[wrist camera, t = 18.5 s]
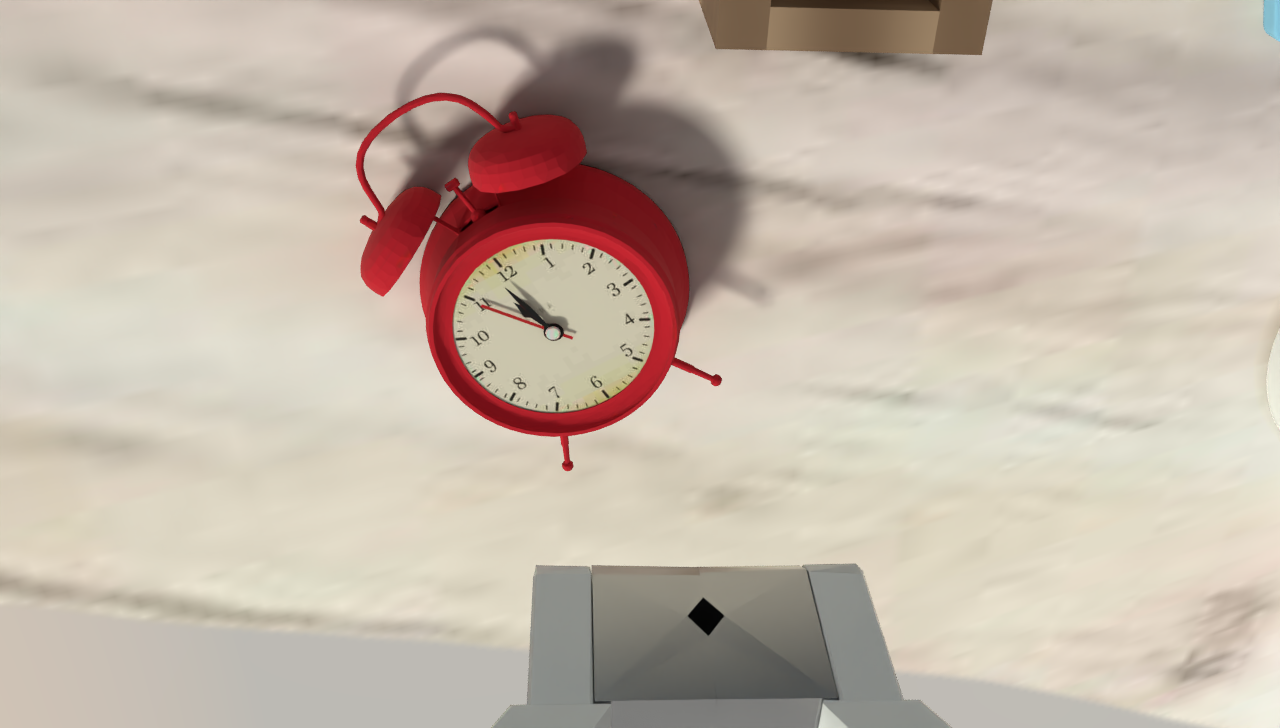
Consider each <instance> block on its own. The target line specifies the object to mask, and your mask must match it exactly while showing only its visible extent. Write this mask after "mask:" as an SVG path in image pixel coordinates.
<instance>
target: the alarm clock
mask: <svg viewBox="0 0 1280 728" xmlns="http://www.w3.org/2000/svg"><path fill="white" fill-rule="evenodd" d="M445 100H446V101H452V102H458V103H460V104H462V105H465V106H467V107H469V108H470V109H472V110H473V111H475V112H476V113H478V114H479V115H481V116H482V117H483V118H484V119H486V120H487V121H488V122H489V123H491V124H492V125H493V126H494V127H495V129H493V130H492V131H490V132H488V133H487V134H485V135H484V136H483V137H482V138H481V139H479V140H478V141H477V143H476V144H475V145H474V147H473V148H472V149H471V152H470V155H469V160H468V168H469V174H470V178H471V181H472V184H473V185H472V186H471V187H470V188H468V189H467V190H466V191H464V192H462V191H461V190H460V189H459V188H458V186H459V185H460V183H459V181H458V179H456V178H454V179H452V180H451V181H450V182H448V183H447V184H445V188H446V189H447V191H449V192H450V191H452V190H454V192H455V193H456V194H457V195H458V196H459V197H457V198H456V199H455V200H454V201H453V202H452V203H451V204H450V205H449V206H448V207H447V209H446V210H445V211H444V213H443V214H442V215H441V217H440V218H438V217H436V216H435V215H436V212H437V210H438V207H439V205H440V200H441V195H439V194H437V193H436V192H434V191H433V190H430V189H428V188H425V187H412V188H409V189H407V190H405V191H404V192H402V193H401V194H400V195H399V196H398V197H397V198H396V199H395V200H394V201H393V202H392V203H391V204H390V205H389V206H388V208H387V209H386V211H385V210H384V208H383V206H382V205H381V203H380V201H379V200H378V198H377V197H376V195H375V194H374V192H373V191H372V189H371V187H370V185H369V183H368V181H367V179H366V177H365V172H364V168H363V164H364V157H365V153H366V151H367V149H368V148H369V146H370V144H371V142H372V141H373V140H374V139H375V138H376V136H377V135H378V134H379V133H380V132H381V131H382V130H383V129H384V128H385V127H387V126H388V125H389V124H390V123H391V122H393V121H394V120H395V119H396V118H398V117H399V116H401V115H403V114H404V113H406V112H408V111H410V110H411V109H413V108H415V107H418V106H420V105H423V104H426V103H429V102H433V101H445ZM509 118H510V122H509V123H506V124H504V125H502V124H500V123H499V122H498V121H497V120H496V119H495V118H494V117H493V116H492V115H491V114H490V113H489V112H488V111H486V110H485V109H484V108H482V107H481V106H480V105H478V104H477V103H475V102H473V101H472V100H470V99H468V98H466V97H463V96H461V95H457V94H450V93H435V94H430V95H426V96H422V97H420V98H417V99H415V100H413V101H410V102H408V103H406V104H405V105H403V106H402V107H400V108H398V109H397V110H395V111H393V112H392V113H390V114H389V115H387V116H386V117H385V118H384V119H383V120H382V121H381V122H380V123H379V124H378V125H376V126H375V127H374V128H373V129H372V130H371V131H370V133H369V134H368V135H367V137H366V138H365V139H364V141H363V142H362V144H361V146H360V148H359V151H358V153H357V160H356V170H357V175H358V179H359V181H360V183H361V185H362V187H363V189H364V191H365V193H366V194H367V196H368V197H369V199H370V200H371V202H372V203H373V205H374V206H375V208H376V209H377V211H378V213H379V216H378V221H377V222H375V221H373V220H372V219H370V218H368V217H367V216H365V215H364V216H362V218H361V219H360V223H362V224H364V225H365V226H367V227H368V228H370V229H372V230H373V231H372V233H371V235H370V237H369V239H368V242H367V244H366V247H365V250H364V252H363V255H362V259H361V277H362V279H363V280H364V282H365V284H366V285H367V286H368V287H369V288H370V289H371V290H372V291H374V292H375V293H377V294H379V295H381V296H382V297H383V296H384V295H385V294H386V293H387V292H389V290H390V289H391V288H392V286H393V285H394V284H395V283H396V281H397V280H398V279H399V277H400V276H401V274H402V273H403V271H404V270H405V268H406V267H407V265H408V264H409V262H410V261H411V259H412V258H413V256H414V254H415V252H416V251H417V249H418V247H419V246H420V244H421V242H422V241H423V239H424V237H425V235H426V233H427V231H428V229H429V227H430V225H431V223H432V221H433V220H434V221H436V222H437V223H436V225H435V227H434V229H433V230H432V232H431V235H430V237H429V239H428V242H427V245H426V248H425V251H424V255H423V259H422V264H421V270H420V296H421V302H422V307H423V311H424V314H425V317H426V332H427V338H428V343H429V346H430V350H431V353H432V356H433V359H434V361H435V363H436V366H437V368H438V370H439V372H440V374H441V375H442V377H443V379H444V381H445V382H446V383H447V385H448V386H449V387H450V389H451V390H452V391H453V393H454V394H455V395H456V396H457V397H458V398H459V399H460V400H461V401H462V402H463V403H464V404H465V405H467V406H468V407H469V408H471V409H472V410H473V411H474V412H476V413H477V414H479V415H480V416H482V417H484V418H485V419H487V420H489V421H491V422H493V423H495V424H497V425H499V426H502V427H505V428H507V429H510V430H514V431H517V432H521V433H525V434H531V435H538V436H551V437H557V436H560V438H561V445H562V447H563V453H564V459H565V461H564V462H563V463H562V467H563V469H564V470H565V471H570V470H572V468H573V462H572V461H570V457H569V446H568V444H569V441H568V436H572V435H578V434H584V433H588V432H592V431H596V430H599V429H602V428H604V427H607V426H609V425H612V424H614V423H616V422H618V421H620V420H622V419H623V418H625V417H627V416H628V415H630V414H631V413H633V412H634V411H635V410H637V409H638V408H639V407H641V406H642V405H643V404H644V403H645V402H646V401H647V400H648V399H649V398H650V397H651V396H652V395H653V393H654V392H655V391H656V390H657V389H658V387H659V386H660V384H661V383H662V381H663V380H664V378H665V376H666V374H667V372H668V370H669V368H670V366H671V365H673V366H675V367H678V368H680V369H682V370H685V371H687V372H689V373H693V374H695V375H698V376H700V377H703V378H705V379H707V380H710V381H711V384H712V385H714V386H719V385H720V384H721V381H722V378H721V377H720V376H719V375H717V374H715V375H714V376H712V375H709V374H707V373H705V372H703V371H701V370H699V369H697V368H695V367H694V366H692V365H690V364H688V363H686V362H684V361H681V360H679V359H677V358H675V354H676V350H677V346H678V342H679V334H680V329H681V326H682V324H683V321H684V318H685V315H686V310H687V306H688V299H689V274H688V267H687V262H686V258H685V254H684V250H683V247H682V245H681V242H680V240H679V238H678V235H677V233H676V231H675V229H674V228H673V226H672V224H671V223H670V221H669V220H668V218H667V217H666V216H665V214H664V213H663V212H662V211H661V209H660V208H659V207H658V206H657V205H656V204H655V203H654V202H653V201H652V200H651V199H650V198H649V197H648V196H646V195H645V194H644V193H642V192H641V191H640V190H639V189H637V188H636V187H635V186H633V185H631V184H630V183H628V182H626V181H625V180H623V179H621V178H619V177H617V176H615V175H613V174H610V173H608V172H605V171H603V170H599V169H596V168H593V167H589V166H584V165H580V163H581V161H582V160H583V158H584V156H585V155H586V153H587V150H586V145H585V141H584V138H583V135H582V133H581V131H580V129H579V128H578V127H577V126H576V125H575V124H574V123H573V122H572V121H571V120H569V119H567V118H565V117H562V116H556V115H535V116H530V117H525V118H521V119H519V118H518V115H517V112H515V111H514V112H511V113H509Z"/></svg>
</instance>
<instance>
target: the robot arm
mask: <svg viewBox="0 0 1280 728" xmlns="http://www.w3.org/2000/svg"><path fill="white" fill-rule="evenodd" d="M1266 388H1267V398H1268V403H1269V407H1270V411H1271V414H1272V417H1273V419H1274V421H1275V423H1276V425H1277V427H1278V429H1279V430H1280V328H1279V330H1278V333H1277V335H1276V338H1275V341H1274V343H1273V346H1272V350H1271V354H1270V357H1269V363H1268V368H1267V385H1266ZM491 728H952V727H951V726H950V725H949V724H948V723H946V722H945V721H944V720H943V719H942V718H940V717H939V716H938V715H937V714H936V713H935V712H934V711H932V710H931V709H930V708H929V707H928V706H927V705H925V704H924V703H923V702H922V701H921V700H904V699H903V696H902V693H901V689H900V686H899V683H898V680H897V677H896V674H895V671H894V667H893V664H892V661H891V658H890V655H889V652H888V649H887V645H886V642H885V639H884V636H883V633H882V630H881V627H880V623H879V620H878V617H877V614H876V611H875V608H874V605H873V602H872V598H871V595H870V592H869V589H868V586H867V583H866V580H865V576H864V573H863V571H862V570H861V569H860V568H859V567H858V565H857V564H817V565H803V566H802V567H801V566H799V565H797V566H725V567H657V566H601V565H592V571H590V567H587V566H542V565H536V569H535V573H534V577H533V592H532V612H531V632H530V652H529V673H528V692H527V705H510V706H509V707H508V708H507V710H506V711H505V712H504V713H503V714H502V715H501V717H500V718H499V719H498V720H497V721H496V722H495V724H494V725H493V726H492V727H491Z"/></svg>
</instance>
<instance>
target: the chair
mask: <svg viewBox="0 0 1280 728" xmlns="http://www.w3.org/2000/svg"><path fill="white" fill-rule="evenodd" d="M1263 25H1264V30H1265V31H1266V33H1267V34H1269V35H1270V36H1271V37H1273V38H1274V39H1276V40H1278V41H1280V0H1264V20H1263Z"/></svg>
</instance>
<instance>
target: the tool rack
mask: <svg viewBox="0 0 1280 728" xmlns="http://www.w3.org/2000/svg"><path fill="white" fill-rule="evenodd" d="M699 2H700V5H701V8H702V11H703V13H704V16H705V19H706V22H707V25H708V28H709V31H710V33H711V36H712V39H713V42H714V45H715V48H716V49H746V50H790V51H833V52H877V53H920V54H963V55H982V50H983V45H984V40H985V35H986V30H987V25H988V20H989V15H990V10H991V5H992V0H699Z"/></svg>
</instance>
